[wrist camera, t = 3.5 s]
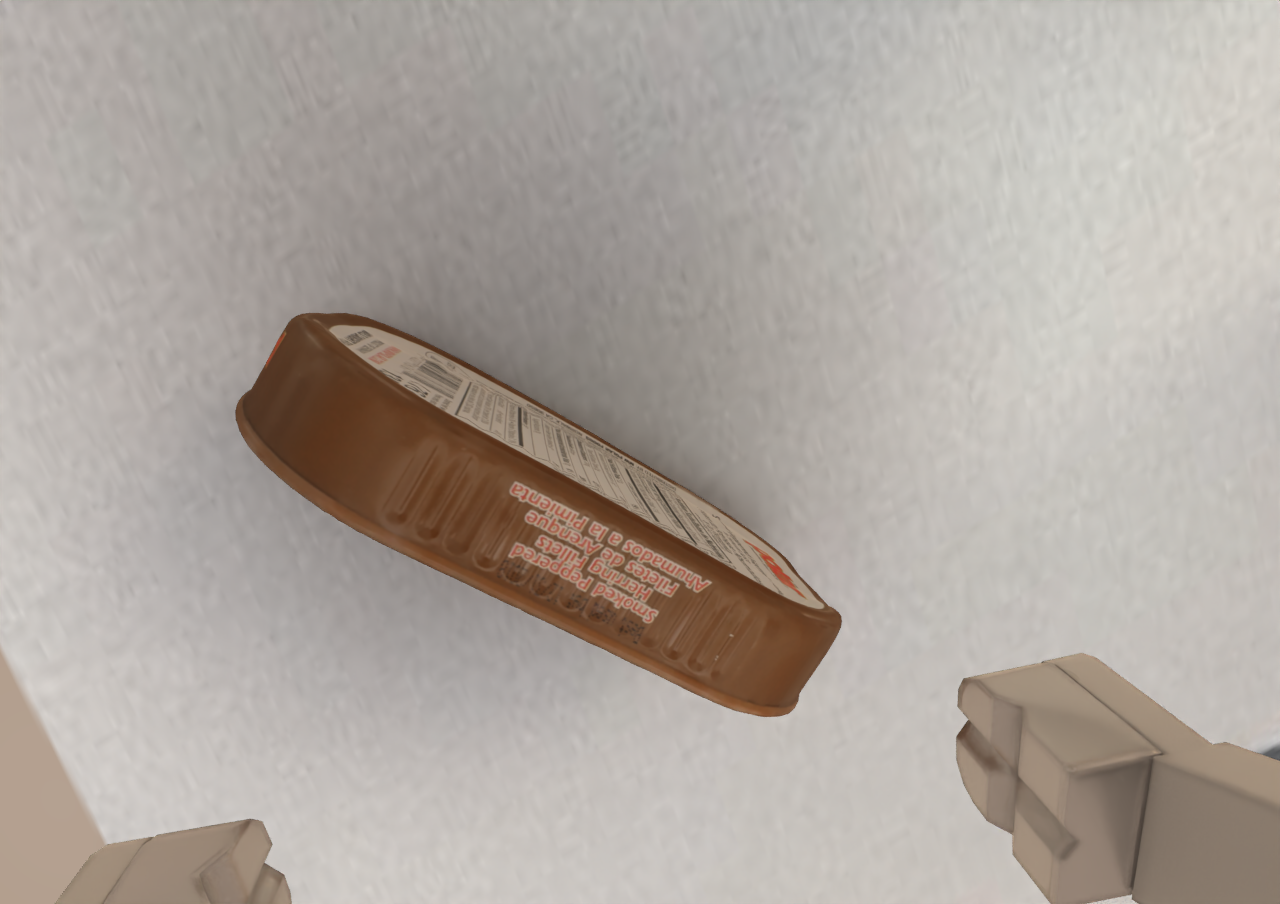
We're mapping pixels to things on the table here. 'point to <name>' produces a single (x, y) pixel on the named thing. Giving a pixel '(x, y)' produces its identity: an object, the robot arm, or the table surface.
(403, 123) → the table surface
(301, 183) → the table surface
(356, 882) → the table surface
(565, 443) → the tin
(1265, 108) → the table surface
